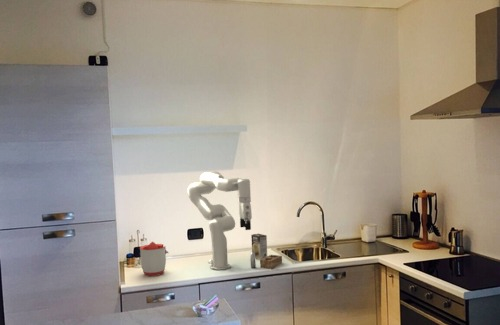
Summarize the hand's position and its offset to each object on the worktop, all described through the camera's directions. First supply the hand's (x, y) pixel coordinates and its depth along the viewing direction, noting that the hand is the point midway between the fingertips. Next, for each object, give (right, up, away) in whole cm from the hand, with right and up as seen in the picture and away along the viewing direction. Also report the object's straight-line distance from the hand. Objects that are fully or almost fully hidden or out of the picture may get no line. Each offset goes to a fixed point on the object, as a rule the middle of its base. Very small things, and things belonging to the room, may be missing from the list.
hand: (245, 228), depth 278 cm
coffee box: (+9, -26, +37) cm, 46 cm away
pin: (+5, -27, +14) cm, 30 cm away
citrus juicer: (-56, -30, +11) cm, 64 cm away
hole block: (+16, -26, +17) cm, 35 cm away
